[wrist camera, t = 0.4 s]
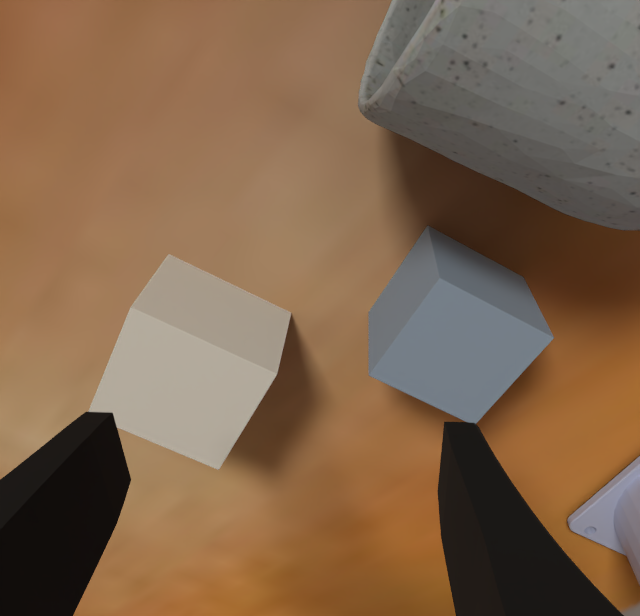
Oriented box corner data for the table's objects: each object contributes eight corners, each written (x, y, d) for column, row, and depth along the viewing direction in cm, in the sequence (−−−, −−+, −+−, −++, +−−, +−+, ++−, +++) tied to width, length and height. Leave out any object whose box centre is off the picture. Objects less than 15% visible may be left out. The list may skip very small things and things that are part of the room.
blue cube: (522, 275, 21) (554, 337, 17) (458, 355, 22) (474, 425, 19) (427, 224, 20) (439, 277, 16) (368, 311, 22) (368, 375, 18)
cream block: (291, 311, 22) (277, 373, 19) (240, 399, 24) (218, 469, 21) (169, 252, 21) (130, 307, 18) (128, 349, 24) (87, 414, 20)
